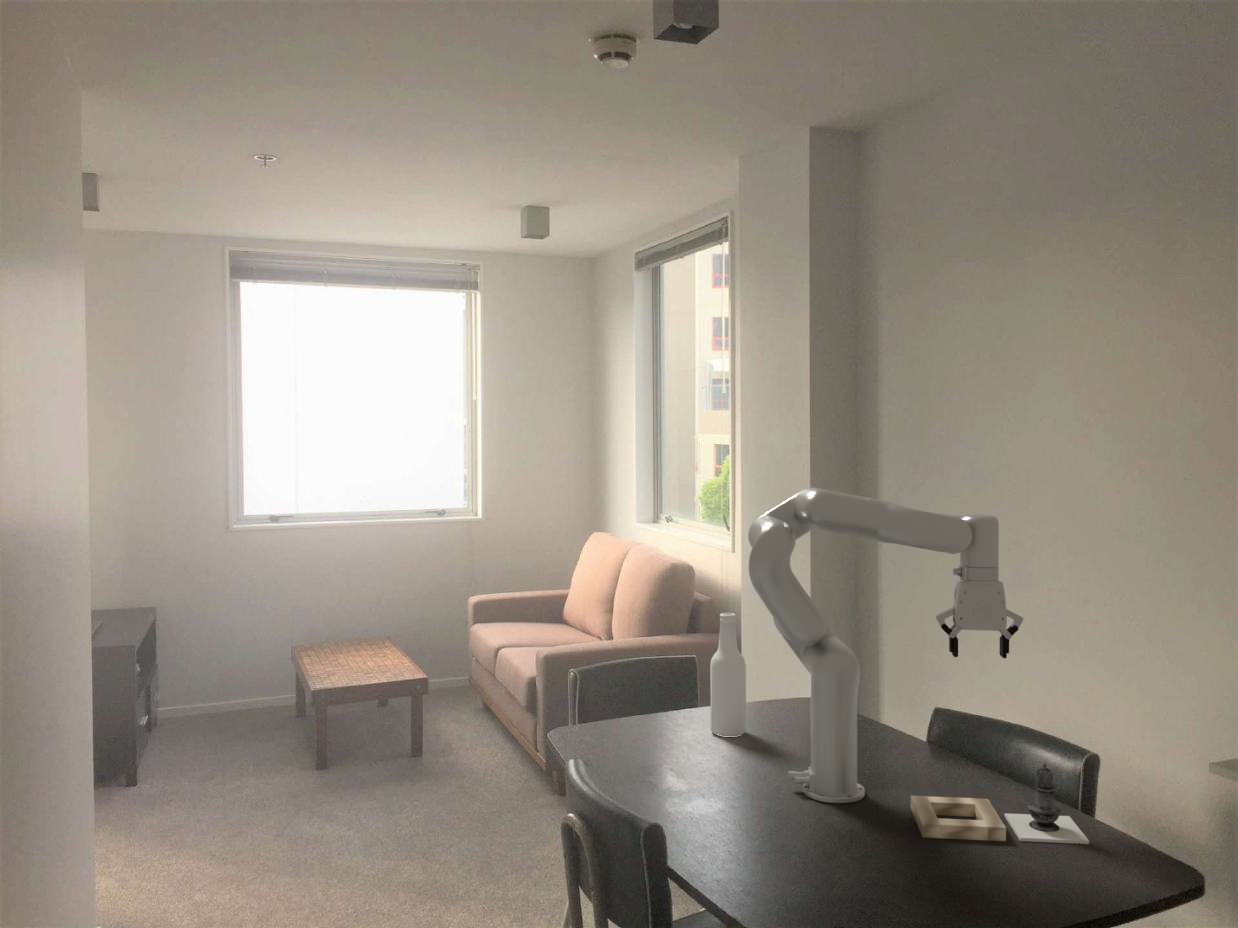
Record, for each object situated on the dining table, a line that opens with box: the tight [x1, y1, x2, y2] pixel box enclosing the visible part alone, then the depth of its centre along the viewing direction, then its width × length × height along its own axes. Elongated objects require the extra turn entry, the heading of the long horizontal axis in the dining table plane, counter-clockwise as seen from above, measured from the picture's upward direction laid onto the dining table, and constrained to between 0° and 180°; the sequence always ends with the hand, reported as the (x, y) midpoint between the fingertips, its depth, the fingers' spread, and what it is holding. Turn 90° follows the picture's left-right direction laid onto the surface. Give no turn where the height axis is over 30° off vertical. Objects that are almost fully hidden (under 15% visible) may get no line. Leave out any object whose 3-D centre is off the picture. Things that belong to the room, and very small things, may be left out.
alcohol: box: [709, 612, 747, 736], centre depth 253 cm, size 9×9×30 cm
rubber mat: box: [1004, 813, 1090, 845], centre depth 191 cm, size 12×12×1 cm
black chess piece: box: [1027, 762, 1062, 832], centre depth 191 cm, size 6×6×12 cm
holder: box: [910, 795, 1007, 842], centre depth 194 cm, size 15×15×2 cm
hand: (978, 656), depth 211 cm, fingers open, 9 cm apart
